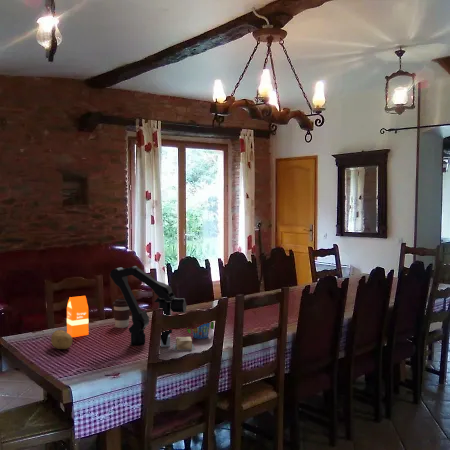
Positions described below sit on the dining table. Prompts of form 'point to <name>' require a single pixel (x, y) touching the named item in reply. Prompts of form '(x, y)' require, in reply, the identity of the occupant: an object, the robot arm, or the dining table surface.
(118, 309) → the coffee cup
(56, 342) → the potato
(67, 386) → the dining table surface
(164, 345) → the blue cube
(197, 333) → the snack cup
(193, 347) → the build mat
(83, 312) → the orange juice
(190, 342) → the oak block
